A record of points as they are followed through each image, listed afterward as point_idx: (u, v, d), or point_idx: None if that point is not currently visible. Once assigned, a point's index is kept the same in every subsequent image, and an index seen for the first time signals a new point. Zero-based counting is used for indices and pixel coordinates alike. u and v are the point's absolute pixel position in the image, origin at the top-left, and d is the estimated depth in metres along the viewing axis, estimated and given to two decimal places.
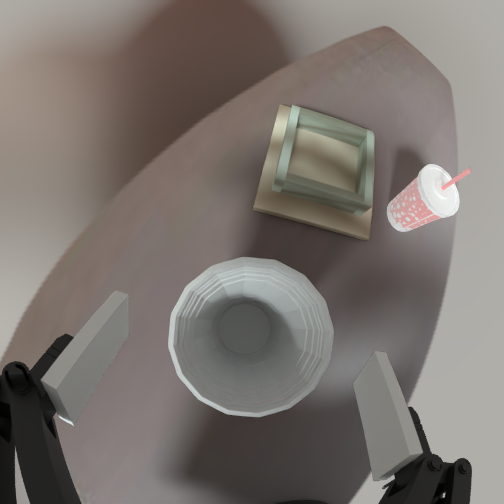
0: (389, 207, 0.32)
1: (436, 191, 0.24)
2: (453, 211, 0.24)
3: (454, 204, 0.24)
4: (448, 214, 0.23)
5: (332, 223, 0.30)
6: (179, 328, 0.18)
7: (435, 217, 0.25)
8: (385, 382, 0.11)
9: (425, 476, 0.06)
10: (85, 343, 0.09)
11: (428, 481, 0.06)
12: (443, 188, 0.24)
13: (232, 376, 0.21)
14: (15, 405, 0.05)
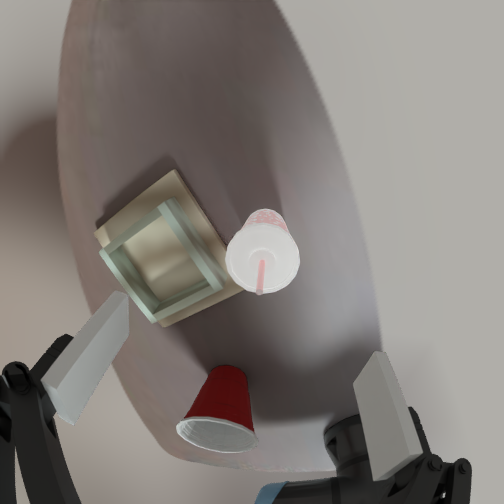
0: None
1: (257, 272, 0.23)
2: (294, 271, 0.23)
3: (291, 259, 0.23)
4: (288, 282, 0.23)
5: (213, 300, 0.34)
6: (192, 438, 0.32)
7: None
8: (385, 382, 0.11)
9: (425, 476, 0.06)
10: (85, 343, 0.09)
11: (428, 481, 0.06)
12: None
13: None
14: (15, 405, 0.05)
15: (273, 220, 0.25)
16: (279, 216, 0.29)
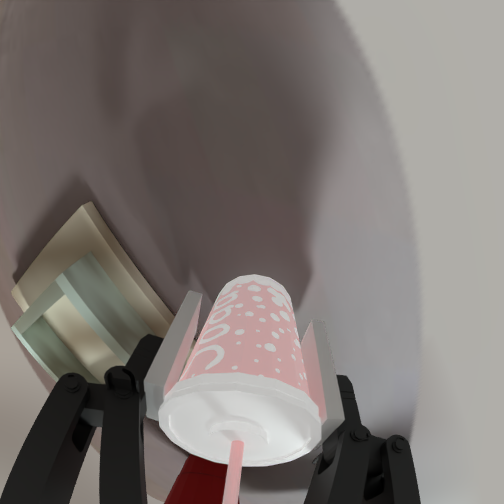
0: None
1: (229, 448, 0.09)
2: (306, 448, 0.09)
3: (304, 435, 0.08)
4: (293, 458, 0.09)
5: None
6: None
7: None
8: (316, 347, 0.12)
9: (351, 450, 0.07)
10: (178, 341, 0.11)
11: (356, 455, 0.07)
12: None
13: None
14: (111, 407, 0.07)
15: (266, 332, 0.11)
16: (280, 295, 0.15)
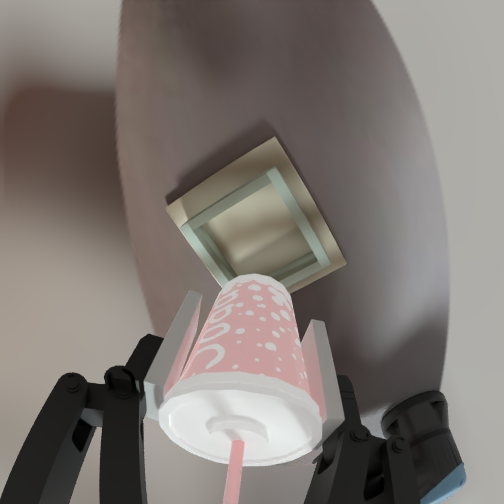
0: None
1: (229, 448, 0.09)
2: (307, 447, 0.09)
3: (304, 435, 0.08)
4: (294, 457, 0.09)
5: (307, 280, 0.31)
6: None
7: None
8: (316, 347, 0.12)
9: (350, 450, 0.07)
10: (178, 341, 0.11)
11: (356, 455, 0.07)
12: None
13: None
14: (111, 407, 0.07)
15: (266, 331, 0.11)
16: (280, 294, 0.15)
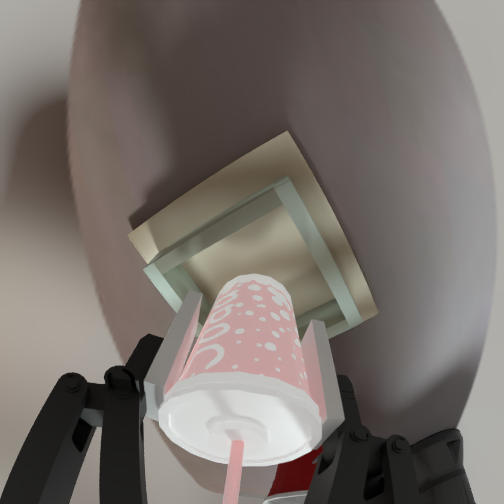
0: None
1: None
2: (307, 447, 0.09)
3: (304, 435, 0.08)
4: (293, 458, 0.09)
5: None
6: (276, 503, 0.20)
7: None
8: (315, 347, 0.12)
9: (351, 450, 0.07)
10: (178, 341, 0.11)
11: (356, 455, 0.07)
12: None
13: None
14: (111, 407, 0.07)
15: (266, 331, 0.11)
16: (280, 294, 0.15)
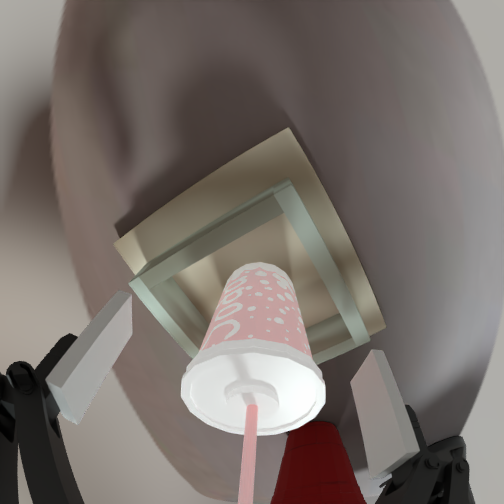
0: None
1: (243, 415, 0.11)
2: (312, 413, 0.10)
3: (310, 399, 0.10)
4: (300, 424, 0.11)
5: None
6: None
7: None
8: (382, 380, 0.11)
9: (422, 475, 0.06)
10: (89, 342, 0.09)
11: (425, 480, 0.06)
12: None
13: None
14: (19, 405, 0.05)
15: (274, 309, 0.13)
16: (283, 280, 0.16)
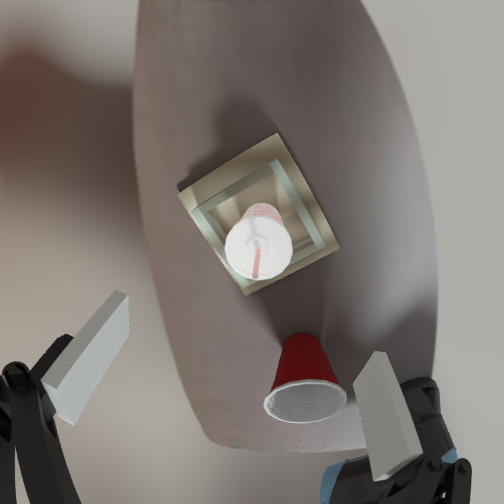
0: None
1: (253, 260, 0.25)
2: (287, 259, 0.25)
3: (285, 248, 0.25)
4: (282, 269, 0.26)
5: (304, 262, 0.35)
6: (274, 411, 0.33)
7: None
8: (385, 382, 0.11)
9: (425, 476, 0.06)
10: (85, 343, 0.09)
11: (428, 482, 0.06)
12: None
13: (311, 391, 0.37)
14: (15, 405, 0.05)
15: (268, 213, 0.27)
16: (274, 210, 0.31)
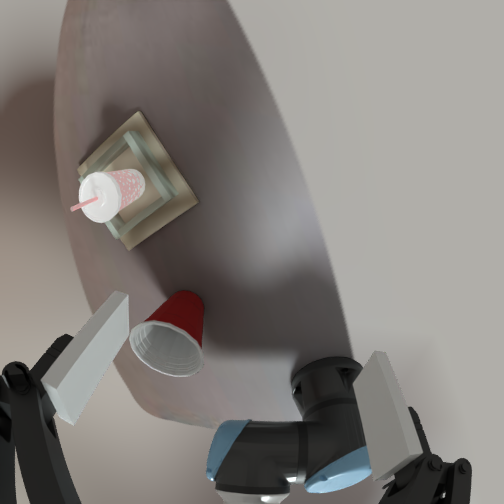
0: None
1: (96, 206, 0.29)
2: (116, 203, 0.28)
3: (113, 195, 0.28)
4: (114, 212, 0.29)
5: (168, 218, 0.38)
6: (147, 359, 0.36)
7: (118, 210, 0.31)
8: (385, 382, 0.11)
9: (425, 476, 0.06)
10: (85, 343, 0.09)
11: (428, 481, 0.06)
12: (95, 200, 0.28)
13: (189, 347, 0.40)
14: (15, 405, 0.05)
15: (116, 172, 0.30)
16: (134, 172, 0.34)
